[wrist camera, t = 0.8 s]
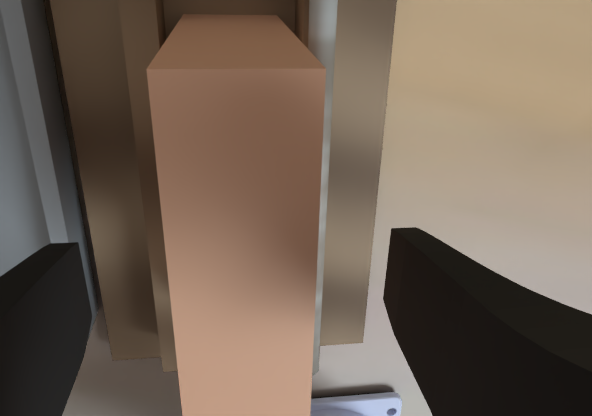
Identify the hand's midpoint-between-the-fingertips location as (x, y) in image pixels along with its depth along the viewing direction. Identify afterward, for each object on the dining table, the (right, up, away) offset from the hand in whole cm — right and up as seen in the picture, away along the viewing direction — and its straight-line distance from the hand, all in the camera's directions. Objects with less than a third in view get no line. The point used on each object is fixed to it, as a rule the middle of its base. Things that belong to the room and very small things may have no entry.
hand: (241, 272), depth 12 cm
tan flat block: (-1, +3, +7) cm, 8 cm away
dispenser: (-1, +4, +8) cm, 9 cm away
